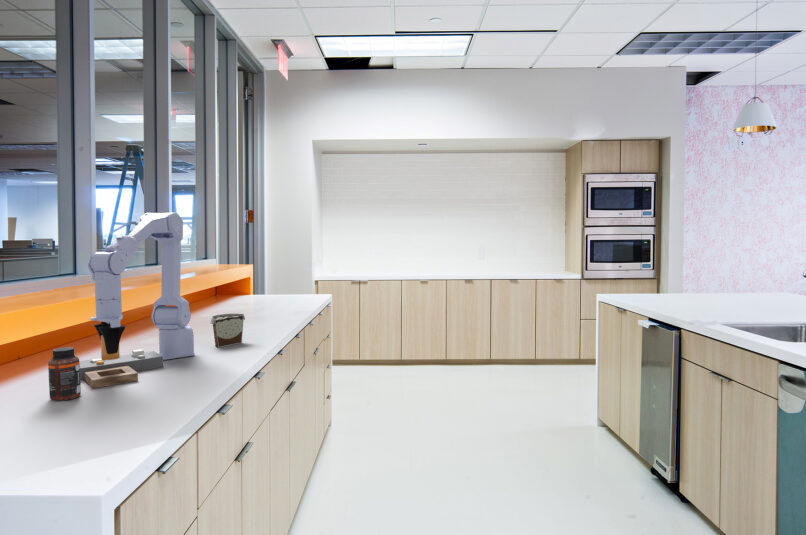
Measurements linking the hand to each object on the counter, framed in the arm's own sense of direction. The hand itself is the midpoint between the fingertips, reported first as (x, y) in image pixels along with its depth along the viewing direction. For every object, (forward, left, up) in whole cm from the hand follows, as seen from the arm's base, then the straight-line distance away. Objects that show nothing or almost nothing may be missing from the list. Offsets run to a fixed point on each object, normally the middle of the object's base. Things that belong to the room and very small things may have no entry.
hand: (110, 351), depth 128 cm
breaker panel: (-4, -10, -7) cm, 13 cm away
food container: (-39, -24, -8) cm, 47 cm away
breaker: (-9, -11, -5) cm, 15 cm away
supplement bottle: (+11, +9, -8) cm, 16 cm away
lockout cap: (0, 0, -2) cm, 2 cm away
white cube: (+1, -11, -6) cm, 13 cm away
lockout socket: (0, 0, -7) cm, 7 cm away
